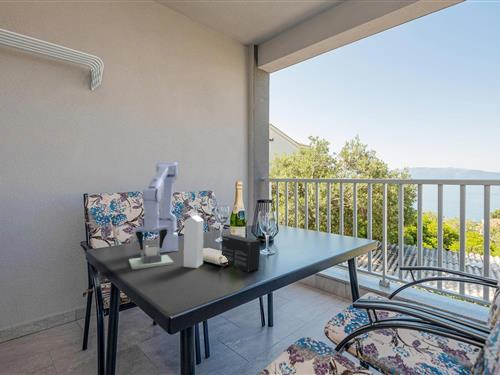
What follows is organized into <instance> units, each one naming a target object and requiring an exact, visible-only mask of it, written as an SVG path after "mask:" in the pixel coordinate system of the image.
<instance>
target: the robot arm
mask: <svg viewBox="0 0 500 375" xmlns="http://www.w3.org/2000/svg"><path fill="white" fill-rule="evenodd" d="M155 171H156V175H155V176H154V177H153V178H152V179H151V181H150V182H149V184H148V186H147V187H146V188H145V189H143V191H142V192H141V193H142V194H141V200H142V205H143V207H144V208H143V209H144V210H143V211H144V212H143V213H144V215H143V216H144V217H143V219H144V220H143V221H144V223H143V226H140V227H139V226H137V227H132V234H135V236H136V238H137V240H138V243H139V248H140V249H139V250H140V251H143V250H144V246H143V242H144V241H143V240H144V239H143V238H144V235H143V233H151V232H156V234H157V252H159V253H160V254H162V253H170V252H178V251H179V235H178V234H179V233H178V232H177V229H178V228H177V227H178V221H177V216H176V215H175V214H174V213H172V209H173V200H174V199H173V196H174V184H175V181H177V180H178V178H179V164H178V162H177V161H157V163H156V165H155ZM162 190H163V192H162ZM161 199H162V202H161V212H159V210H160V208H159V207H160V205H159V204H160V201H161Z"/></svg>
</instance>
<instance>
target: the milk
mask: <svg viewBox="0 0 500 375" xmlns="http://www.w3.org/2000/svg"><path fill="white" fill-rule="evenodd" d="M204 221H205V220H204V219H203V218H202V217H201V216H199V215H198V211H195V212H191V214H190V217H189V218H187V219H185V220H184V221H183V222H184V223H183V226H184V227H183V267H185V268H193V269H198V268H199V267H201V266H202V265H203V264H204V223H205V222H204Z"/></svg>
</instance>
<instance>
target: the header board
mask: <svg viewBox="0 0 500 375" xmlns="http://www.w3.org/2000/svg"><path fill="white" fill-rule="evenodd" d="M128 263H129V265H130V267H131V270H138V269H146V268H153V267H161V266H171V265H174V261H173V259H172V258H170V256H169V255H168V254H162V255H161V253H159V252H158V251H157V256H149V257H145V252H142V253H140V257H135V258H129V259H128Z"/></svg>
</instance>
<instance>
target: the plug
mask: <svg viewBox="0 0 500 375" xmlns="http://www.w3.org/2000/svg"><path fill="white" fill-rule="evenodd" d="M144 248H145V251H144V253H145V257H149V256H157V252H158V251H157V248H158V245H156V244H153V245H152V244H149V245H145V246H144Z"/></svg>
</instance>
